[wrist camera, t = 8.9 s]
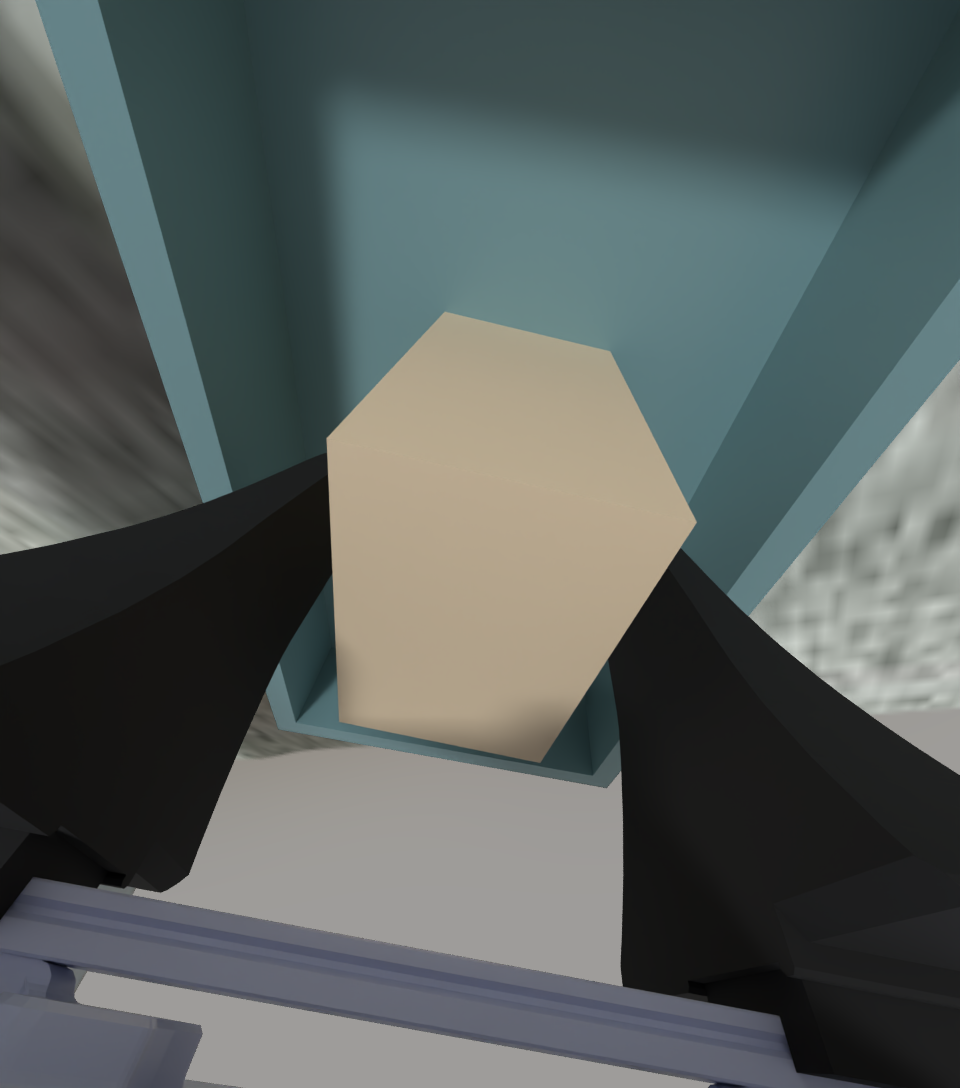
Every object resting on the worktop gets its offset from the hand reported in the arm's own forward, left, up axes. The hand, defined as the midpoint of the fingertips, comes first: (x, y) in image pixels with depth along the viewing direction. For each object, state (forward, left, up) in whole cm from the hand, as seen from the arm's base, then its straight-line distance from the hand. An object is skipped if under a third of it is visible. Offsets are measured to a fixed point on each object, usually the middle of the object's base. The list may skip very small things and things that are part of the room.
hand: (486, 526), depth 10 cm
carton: (0, +1, -3) cm, 3 cm away
